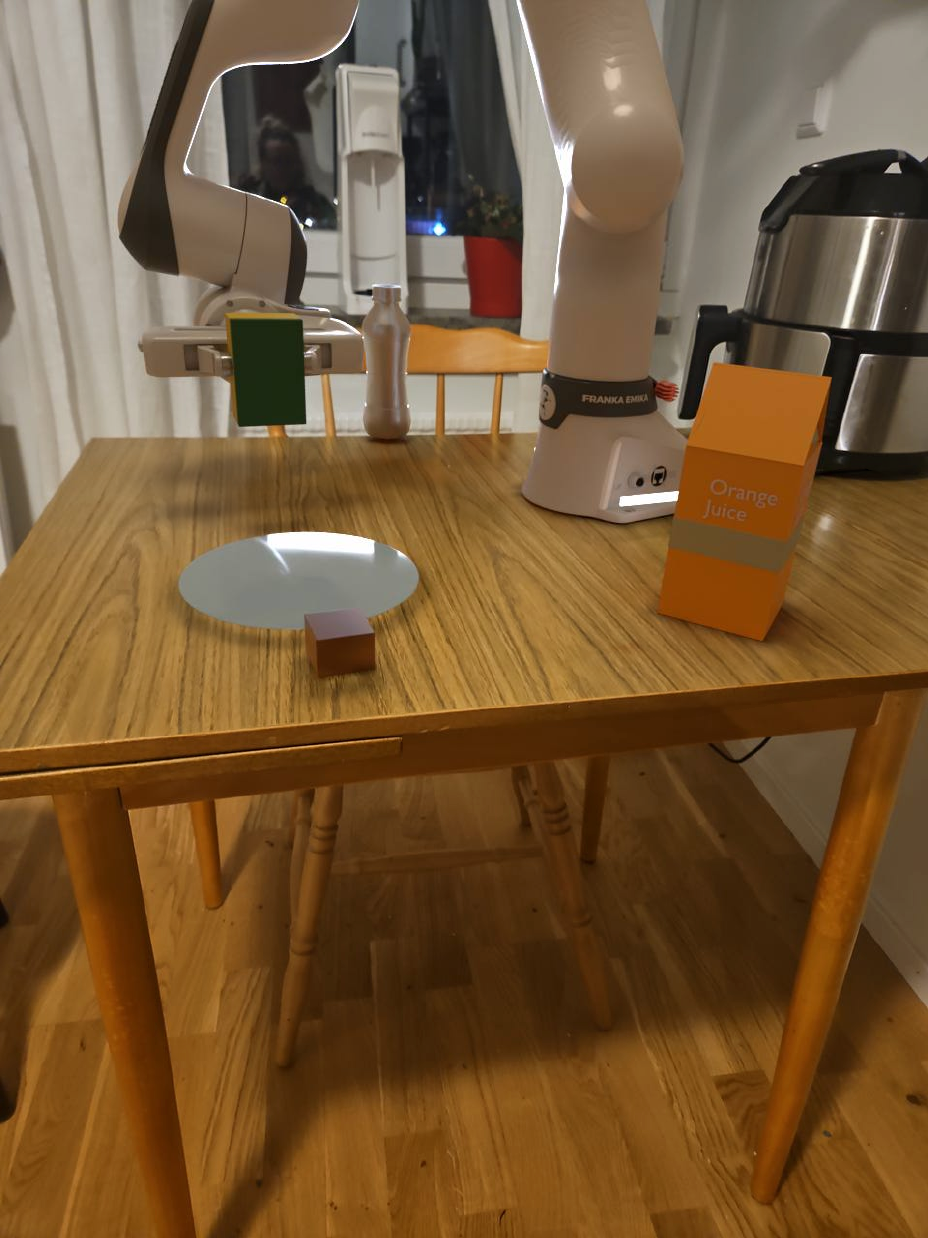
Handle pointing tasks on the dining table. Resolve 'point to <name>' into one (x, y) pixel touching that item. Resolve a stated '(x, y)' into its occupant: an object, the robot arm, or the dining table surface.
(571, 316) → the robot arm
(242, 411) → the sponge
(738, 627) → the orange juice
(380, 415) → the plastic bottle
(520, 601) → the dining table surface
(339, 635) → the brown cube
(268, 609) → the plate
